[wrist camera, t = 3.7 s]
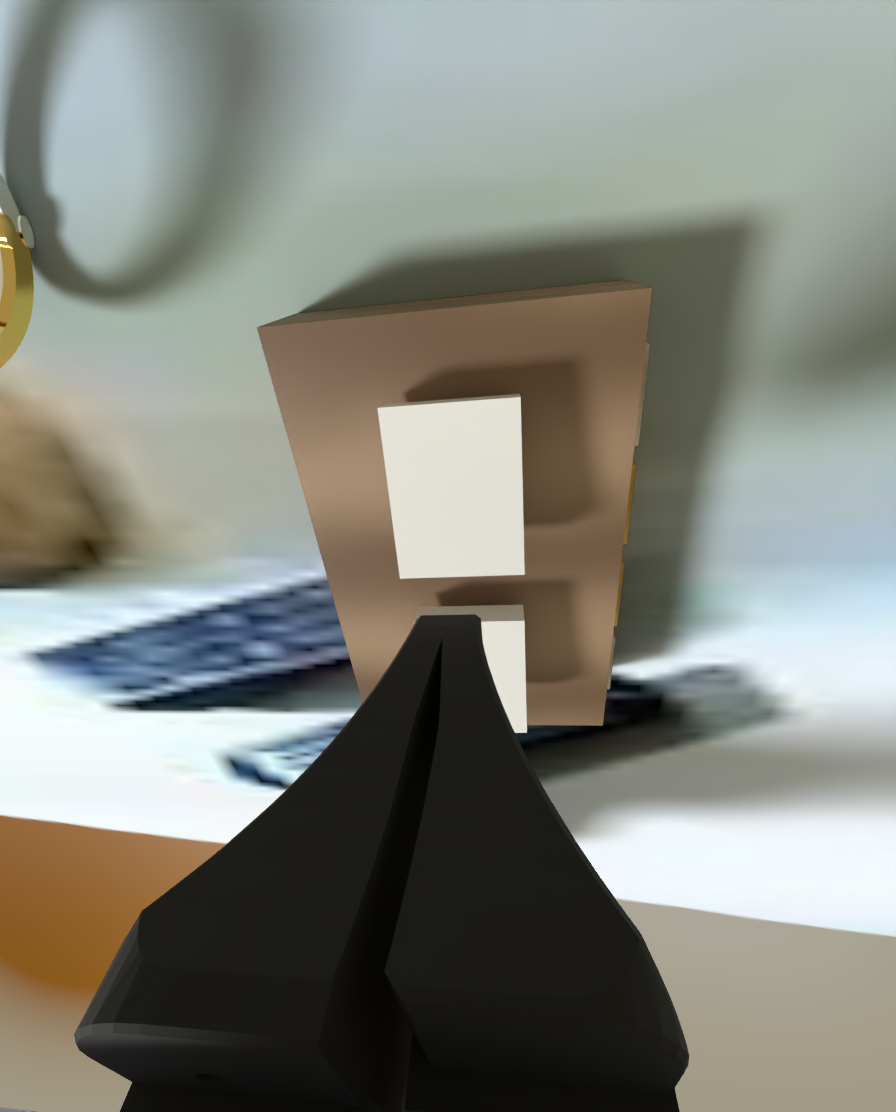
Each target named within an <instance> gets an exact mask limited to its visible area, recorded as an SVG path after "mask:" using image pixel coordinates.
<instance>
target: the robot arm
mask: <svg viewBox="0 0 896 1112" xmlns="http://www.w3.org/2000/svg"><path fill="white" fill-rule="evenodd" d="M74 1036H75V1041H76V1044H77V1046H78V1048H79V1050H80V1051H81V1052H83V1053H84V1054H86V1055H87V1056H88V1057H90V1058H91V1059H93V1060H95V1061H97V1062H98V1063H100V1064H102V1065H104V1066H106V1067H107V1068H109V1069H111V1070H113V1071H114V1072H116V1073H118V1074H120V1075H121V1076H123V1077H125V1078H126V1079H128V1080H130V1081H132V1085H131V1087H130V1089H129V1091H128V1094H127V1096H126V1098H125V1101H124V1103H123V1105H122V1108H121V1110H120V1112H679V1108H678V1103H677V1098H676V1093H675V1086H676V1085H677V1083H678V1082H679V1080H680V1078H681V1077H682V1075H683V1074H684V1072H685V1070H686V1068H687V1066H688V1062H689V1054H688V1049H687V1045H686V1041H685V1038H684V1035H683V1031H682V1029H681V1025H680V1022H679V1019H678V1016H677V1013H676V1011H675V1009H674V1006H673V1003H672V1001H671V998H670V996H669V993H668V991H667V989H666V987H665V984H664V982H663V980H662V978H661V976H660V973H659V971H658V969H657V967H656V965H655V963H654V960H653V958H652V956H651V954H650V952H649V950H648V948H647V946H646V943H645V941H644V939H643V937H642V935H641V934H640V932H639V931H638V929H637V928H636V926H635V925H634V924H633V922H632V921H631V920H630V918H629V917H628V916H627V914H626V913H625V912H624V910H623V909H622V907H621V906H620V905H619V903H618V902H617V901H616V899H615V898H614V896H613V895H612V894H611V892H610V891H609V889H608V888H607V886H606V885H605V884H604V882H603V881H602V879H601V878H600V877H599V875H598V874H597V872H596V871H595V869H594V868H593V866H592V865H591V863H590V862H589V860H588V859H587V857H586V856H585V854H584V853H583V851H582V850H581V848H580V847H579V845H578V844H577V842H576V841H575V839H574V838H573V836H572V834H571V833H570V831H569V830H568V828H567V826H566V825H565V823H564V821H563V820H562V818H561V816H560V815H559V813H558V812H557V810H556V808H555V807H554V805H553V803H552V802H551V800H550V799H549V797H548V795H547V794H546V792H545V790H544V788H543V786H542V785H541V783H540V781H539V779H538V777H537V776H536V774H535V772H534V770H533V768H532V766H531V765H530V763H529V761H528V759H527V757H526V755H525V753H524V751H523V749H522V747H521V745H520V743H519V741H518V739H517V737H516V734H515V732H514V730H513V728H512V726H511V723H510V721H509V719H508V716H507V714H506V712H505V709H504V707H503V705H502V702H501V699H500V697H499V694H498V692H497V689H496V686H495V683H494V680H493V677H492V674H491V671H490V668H489V665H488V662H487V658H486V654H485V650H484V646H483V639H482V626H481V618H480V617H478V616H477V615H476V614H465V615H421V616H420V617H419V618H418V619H417V620H416V622H415V624H414V626H413V628H412V629H411V631H410V633H409V635H408V637H407V638H406V640H405V642H404V643H403V645H402V647H401V648H400V650H399V651H398V653H397V655H396V656H395V658H394V660H393V661H392V663H391V664H390V666H389V667H388V668H387V670H386V671H385V673H384V674H383V676H382V677H381V679H380V680H379V682H378V683H377V685H376V686H375V688H374V689H373V690H372V692H371V693H370V694H369V696H368V697H367V698H366V700H365V701H364V702H363V704H362V705H361V706H360V708H359V709H358V710H357V712H356V713H355V714H354V716H353V717H352V718H351V719H350V721H349V722H348V723H347V724H346V726H345V727H344V728H343V729H342V730H341V732H340V733H339V734H338V735H337V736H336V738H335V739H334V740H333V741H332V742H331V743H330V745H329V746H328V747H327V748H326V749H325V750H324V751H323V752H322V753H321V755H320V756H319V757H318V758H317V759H316V760H315V761H314V762H313V763H312V764H311V765H310V766H309V767H308V768H307V769H306V770H305V771H304V773H303V774H302V775H301V776H300V777H299V778H298V779H297V780H296V781H295V782H294V783H293V784H292V785H291V786H290V787H289V788H288V789H287V790H286V791H285V792H284V793H283V794H282V795H281V796H280V797H279V798H278V799H277V800H275V801H274V802H273V803H272V804H271V805H270V806H269V807H268V808H267V809H266V810H265V811H264V812H262V813H261V814H260V815H259V816H258V817H257V818H256V819H254V820H253V821H252V822H251V823H250V824H249V825H248V826H247V827H245V828H244V829H243V830H242V831H241V832H240V833H239V834H238V835H236V836H235V837H234V838H233V839H232V840H231V841H230V842H229V843H227V844H226V845H225V846H224V847H223V848H222V849H220V850H219V851H218V852H217V853H216V854H214V855H213V856H212V857H211V858H209V859H208V860H207V861H206V862H204V863H203V864H202V865H201V866H199V867H198V868H197V869H196V870H195V871H193V872H192V873H190V874H189V875H188V876H187V877H185V878H184V879H183V880H181V881H180V882H179V883H178V884H176V885H175V886H174V887H173V888H171V889H170V890H169V891H168V892H166V893H165V894H164V895H162V896H161V897H160V898H159V899H157V900H156V901H154V902H153V903H152V904H151V905H149V906H148V907H146V908H145V909H144V910H142V912H141V914H140V915H139V917H138V919H137V920H136V922H135V924H134V925H133V927H132V928H131V930H130V932H129V933H128V935H127V936H126V938H125V940H124V941H123V943H122V945H121V947H120V948H119V951H118V952H117V954H116V956H115V958H114V960H113V962H112V964H111V966H110V967H109V969H108V971H107V973H106V975H105V977H104V979H103V981H102V982H101V984H100V987H99V988H98V990H97V992H96V994H95V996H94V998H93V1000H92V1001H91V1004H90V1005H89V1007H88V1009H87V1011H86V1013H85V1015H84V1017H83V1018H82V1020H81V1022H80V1024H79V1026H78V1028H77V1030H76V1032H75V1034H74ZM0 1112H35V1111H26V1110H17V1109H9V1108H1V1107H0Z"/></svg>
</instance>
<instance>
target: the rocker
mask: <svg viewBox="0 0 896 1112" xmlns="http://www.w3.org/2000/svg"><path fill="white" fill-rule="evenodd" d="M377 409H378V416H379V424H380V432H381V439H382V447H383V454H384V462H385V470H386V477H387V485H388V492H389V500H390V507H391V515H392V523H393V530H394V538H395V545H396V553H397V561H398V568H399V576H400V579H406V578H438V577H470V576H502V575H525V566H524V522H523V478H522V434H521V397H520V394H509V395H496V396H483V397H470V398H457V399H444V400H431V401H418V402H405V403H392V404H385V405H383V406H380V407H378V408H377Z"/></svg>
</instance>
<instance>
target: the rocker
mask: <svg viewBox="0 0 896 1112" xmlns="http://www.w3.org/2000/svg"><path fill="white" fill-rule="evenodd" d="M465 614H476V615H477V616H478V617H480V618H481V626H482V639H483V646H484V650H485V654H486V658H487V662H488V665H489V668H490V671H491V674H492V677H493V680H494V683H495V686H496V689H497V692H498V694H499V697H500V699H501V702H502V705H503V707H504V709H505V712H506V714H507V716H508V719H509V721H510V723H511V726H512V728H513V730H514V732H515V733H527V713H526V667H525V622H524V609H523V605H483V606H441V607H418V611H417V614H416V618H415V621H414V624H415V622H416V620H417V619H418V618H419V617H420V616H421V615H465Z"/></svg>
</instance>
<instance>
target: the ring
mask: <svg viewBox="0 0 896 1112" xmlns="http://www.w3.org/2000/svg"><path fill="white" fill-rule="evenodd" d="M33 247H34V236H33V231H32V228H31V226H30V223H29V221H28V220H27V218H26V217H25V216H21V215H20V214H19V211H18V208H17V206H16V204H15V201H14V199H13V197H12V195H11V192H10V190H9V188H8V186H7V184H6V182H5V180H4V179H3V177H2V175H1V173H0V368H1V367H2V366H3V365H4V364H5V363H6V362H7V361H8V360H9V359H10V358H11V357H12V356H13V354H14V353H15V352H16V350H17V349H18V347H19V346H20V344H21V342H22V340H23V338H24V336H25V333H26V331H27V328H28V325H29V321H30V317H31V312H32V306H33V293H34V282H33V269H32V261H31V255H30V249H29V248H33Z"/></svg>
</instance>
